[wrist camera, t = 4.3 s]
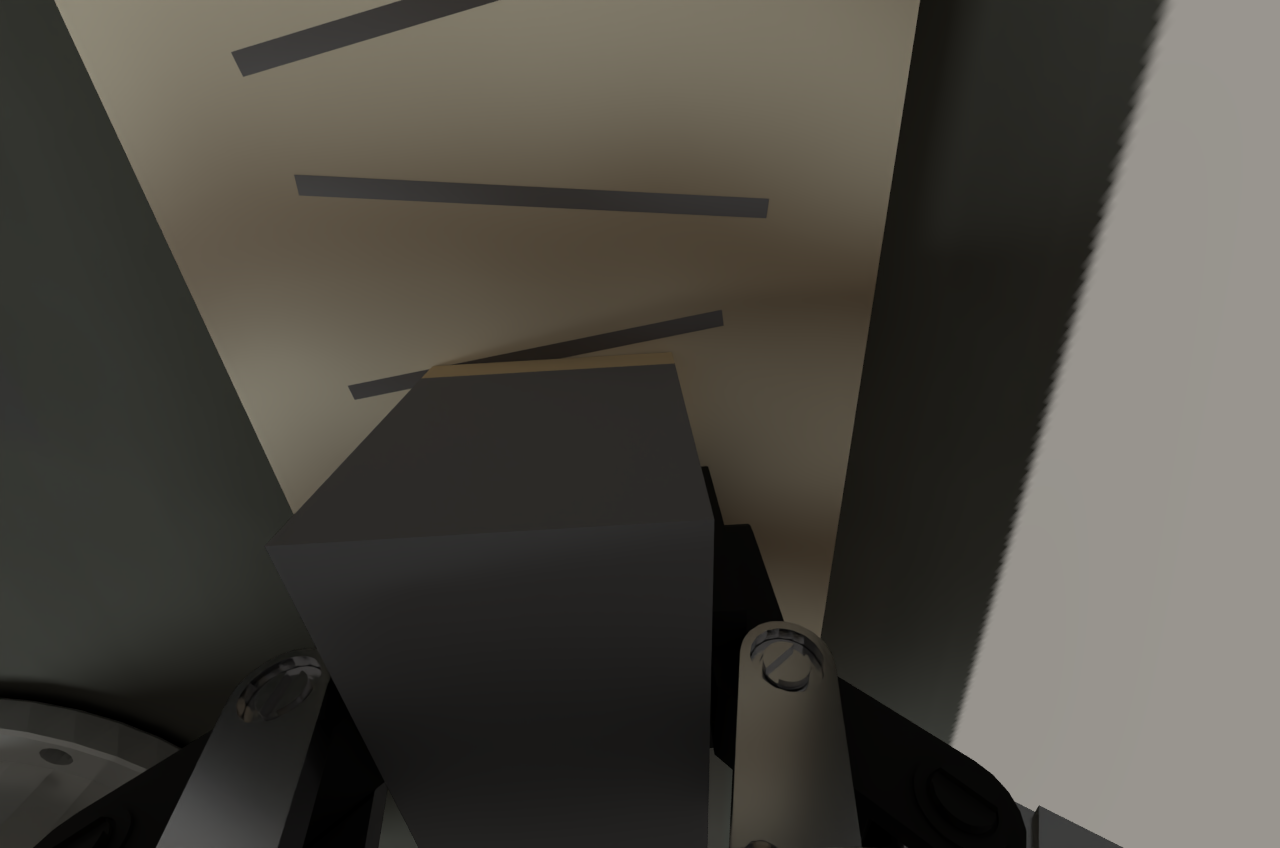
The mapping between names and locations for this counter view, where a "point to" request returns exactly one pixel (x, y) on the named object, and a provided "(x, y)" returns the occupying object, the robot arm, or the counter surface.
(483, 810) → the sanding sponge
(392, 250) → the birch board
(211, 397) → the counter surface
